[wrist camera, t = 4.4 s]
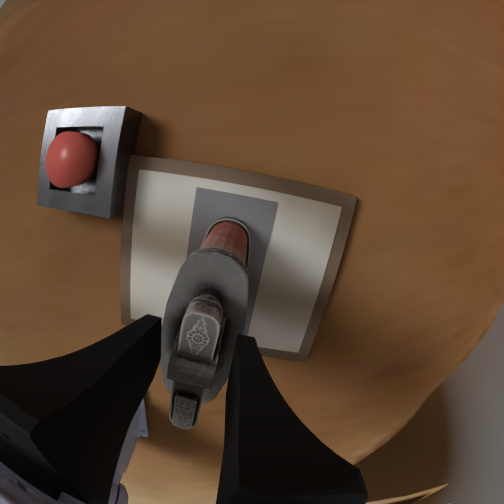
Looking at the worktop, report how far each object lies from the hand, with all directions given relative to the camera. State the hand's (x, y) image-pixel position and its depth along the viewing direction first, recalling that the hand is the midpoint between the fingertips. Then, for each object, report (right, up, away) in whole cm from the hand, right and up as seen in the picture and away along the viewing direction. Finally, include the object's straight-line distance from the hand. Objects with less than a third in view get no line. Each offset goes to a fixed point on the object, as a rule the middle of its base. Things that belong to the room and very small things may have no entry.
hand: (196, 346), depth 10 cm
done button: (-10, +10, +5) cm, 14 cm away
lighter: (0, +2, +8) cm, 8 cm away
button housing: (-9, +10, +7) cm, 15 cm away
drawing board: (0, +3, +9) cm, 9 cm away
